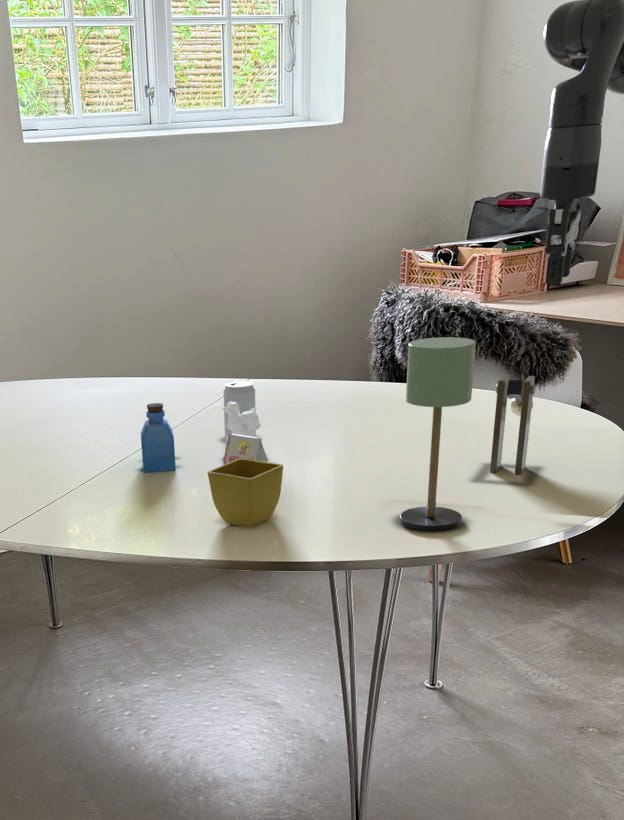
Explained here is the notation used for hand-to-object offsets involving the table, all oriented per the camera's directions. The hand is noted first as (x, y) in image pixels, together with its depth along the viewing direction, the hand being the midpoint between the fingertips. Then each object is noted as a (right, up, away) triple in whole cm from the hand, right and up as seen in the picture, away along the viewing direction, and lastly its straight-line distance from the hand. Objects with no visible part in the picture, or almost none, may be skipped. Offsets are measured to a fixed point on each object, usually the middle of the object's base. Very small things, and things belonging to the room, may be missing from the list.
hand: (557, 280), depth 145 cm
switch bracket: (-1, -27, +18) cm, 33 cm away
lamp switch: (0, -16, +16) cm, 23 cm away
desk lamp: (-19, -37, 0) cm, 42 cm away
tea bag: (-45, -29, +21) cm, 58 cm away
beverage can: (-43, -14, +52) cm, 69 cm away
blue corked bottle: (-60, -21, +40) cm, 75 cm away
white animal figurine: (-45, -21, +38) cm, 62 cm away
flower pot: (-47, -36, +7) cm, 60 cm away
